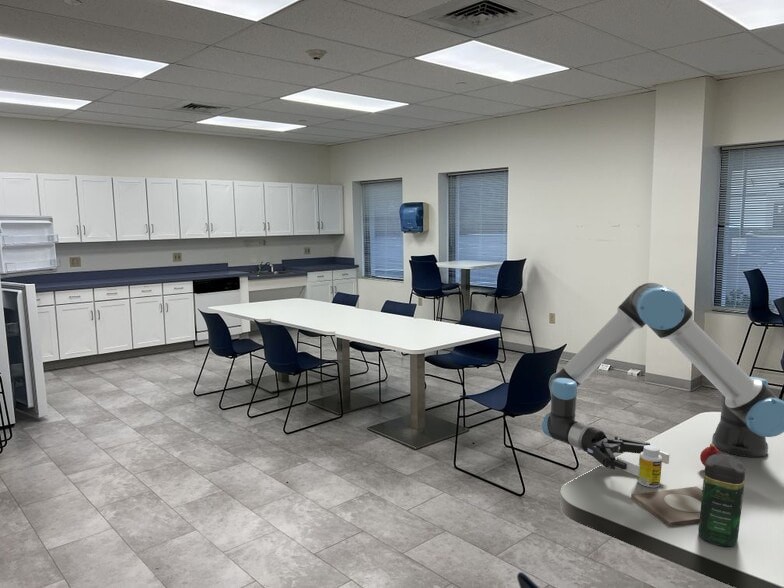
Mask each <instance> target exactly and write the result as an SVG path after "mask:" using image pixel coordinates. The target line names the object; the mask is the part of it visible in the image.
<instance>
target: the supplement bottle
mask: <svg viewBox="0 0 784 588" xmlns="http://www.w3.org/2000/svg"><path fill="white" fill-rule="evenodd" d="M659 451H661V449H660V448H659V447H658V446H655V445H652V444H650V445H646V446H644V448H643V452H641V453H640V454H639V458H638V459H639V461H638V465H640V475H639V476H637V481H638V483H639V484H640V485H642V486H644V487H646V488H657V487H659V486H660V484H661V474H662V463H663V462H662V457H661V456H660V455H659V453H660V452H659Z"/></svg>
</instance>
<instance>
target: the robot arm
mask: <svg viewBox="0 0 784 588" xmlns="http://www.w3.org/2000/svg"><path fill="white" fill-rule="evenodd" d="M616 310H617V312H616V313H615V314H614V315H613V316H612V318H610V320H608V322H606V324H604V325H603V326H602V328H601V329H600V330H598V331H597V333H596V334H595V335H593V337H592V338H591V339H590V340H589V341H588V342H587V343H586V344H585V345H584V346H583V347H582V348H581V349H580V350H579V351H578V352H577V353H576V354H575V355H574V356H573V357H572V358H571V359H570V360H569V361H568V362H567V363H566V364H565V365H564V366H563V367H562V369H560V370H559V371H557V372H555V373H553V374H552V375H551V376H550V378H549V381H548V388H549V392H550V412H548V413H546V415H544V416H543V420H542V421H541V429H542V432H543V434H545V435H546V436H548V437H550V438H552V439H553V440H556V441H559V442H561V443H565V445H566V444H567V445H569V446H571V447H574V448H577V450H580V451H583V452H585V453H587V455H590V456H591V457H593V458H594V459H595V460H596V461H598V463H600V464H601V465H602V466H603V467H604V468H607V469H608V468H609V467H610V470H613V471H614V470H615V469H616V468H617V469H620V470H623V471H625V472H627V473H629V474H632V475H634V476H637V477H638V476H639V475H640V465H639V464H638V463H635V462H632V461H630V460H627V459H625V458H622V457H619V456H618V457H616V455H614V453H618V454H623V453H631V454H639V455H640V453H641V452H643V448H644V446H646V445H651V443H650V442H646V441H640V440H635V439H630V438H623V437H620V436H619V435H615V436H614V438H611V437H610V438H609V437H607V436H606V433H605V432H604V431H603V430H601V429H599V428H595V427H594V426H593V427H592V426H591V425H588V424H585V423H582V422H579V421H577V420H576V408H577V395H578V387H579V386H581V384H582V383H583V382H584V381H585V380H586V379H587V378H588V377H589V376H590V375H591V374H592V373H593V372H594V371H595V370H596V369H597V368H598V367H599V366H600V365H601V364H603V362H604V361H606V359H607V358H608V357H609V356H611V354H613V353H614V352H615V351H616V349H617V348H619V347H620V345H621V344H623V342H624V341H625V340H627V339H628V338H629V337H630V336H631V334H633V333H634V332H635V331H636V329H642V328H644V326H645V325H647V326H648V328H649V329H651V330H652V332H654V334H655V335H656V336H658V337H659V338H660V339H665V340H666V339H667V340H669V341H670V342H671V344H673V345H674V347H676V348H677V349H678V350H679V352H681V353H682V354H683V355H684V356H685V357H686V359H688V361H690V363H691V364H692V365H694V367H695V368H696V369H698V371H700V372H701V374H703V376H704V377H705V378H706V379H707V380H708V381H709V382H710V383H711V384H712V385H713V386H714V387H715V388H716V389H717V390H718V391H719V392H720V393H721V394H722V398H721V410H720V420H719V422H718V424H717V426H716V428H715V430H714V432H713V435H712V438H711V444H713V445H714V446H715V447H716V448H717V449H718V450H719V451H723V452H725V453H729V454H731V455H735V456H740V457H746V458H761V456H762V457H766V456H767V455H768V453H769V444H768V443H767V439H766V438H773V437H777V436H780V435H782V434H784V401H783V400H782V399H780V398H779V397H778V396H776V394H774V393H773V391H772V390H771V389H769V382H768V380H767V379H765V378H761V377H758V376H757V377H756V376H749V375H748V374H747V373H746V372H745V371H744V370H743V369H742V368H741V367H740V365H738V364H737V363H736V362H735V361H734V360H733V359H732V358H731V357H730V356H729V355H728V354H727V353H726V352H725V351H724V349H722V348H721V347H720V346H719V345H718V344H717V343H716V342H715V341H714V339H712V338H711V337H710V336H709V335H708V334H707V333H706V332H705V331H704V330H703V328H701V327H700V326H699V325H698V323H696V322H695V320H693V319H694V312H693V311H692V310H691V308H689V307H688V306H687V304H685V303H684V301H683V298H682V297H681V295H679V293H677V292H676V291H674V289H673V290H672V289H671V288H669V287H666V286H663V285H662V284H659V283H657V282H647V283H643V284H641V285H638V286H637V287H636V288H635V289H633V290H632V292H631V293H630V294H629V295H628V296H627V297H626V298H625V299H624V300H623V301H622V303H620V304H619V305H618V306H617V309H616ZM659 452H660V453H659V455H660V456H661V457H662V463H663V464H665V465H669V463H670V453H667V452H666V451H665V452H664V451H661V450H660V451H659ZM766 454H767V455H766Z"/></svg>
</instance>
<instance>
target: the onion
mask: <svg viewBox="0 0 784 588" xmlns="http://www.w3.org/2000/svg"><path fill="white" fill-rule="evenodd" d="M709 444H710V445H709V446H708V447H705V448H704V449H703V450H702V451H701V453H700V455H699V456H700V457H699V459H700V462H701V464H702V465H703V466H704V467H705V462H706V460H707V458H708V457H709V456H711V455H714V454H717V453H720V454H723V453H722V452H721V450H720V449H718V448H716V447H715V446H714V445H713V444H712V443H709Z"/></svg>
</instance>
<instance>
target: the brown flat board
mask: <svg viewBox="0 0 784 588" xmlns="http://www.w3.org/2000/svg"><path fill="white" fill-rule="evenodd" d="M702 490H703V488H702V489H701V488H699V487H698V486H690V487H688V486H687V487H682V488H681V487H680V488H672V489H663V490H656V491H650V492H648V491H646V492H638V493H633V494H632V493H631V494H630V499H632V500H633V501H634V502H635V503H637V504H639V505H640V506H641V507H642V508H644V509H645V510H646V511H648V512H649V513H650V514H652V515H653V516H655V517H656V518H657V519H658V520H660V521H661V522H663V523H664V524H665V525H667V526H668V527H676V526H682V525H683V526H684V525H689V524H699V519H700V511H701V500H702Z"/></svg>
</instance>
